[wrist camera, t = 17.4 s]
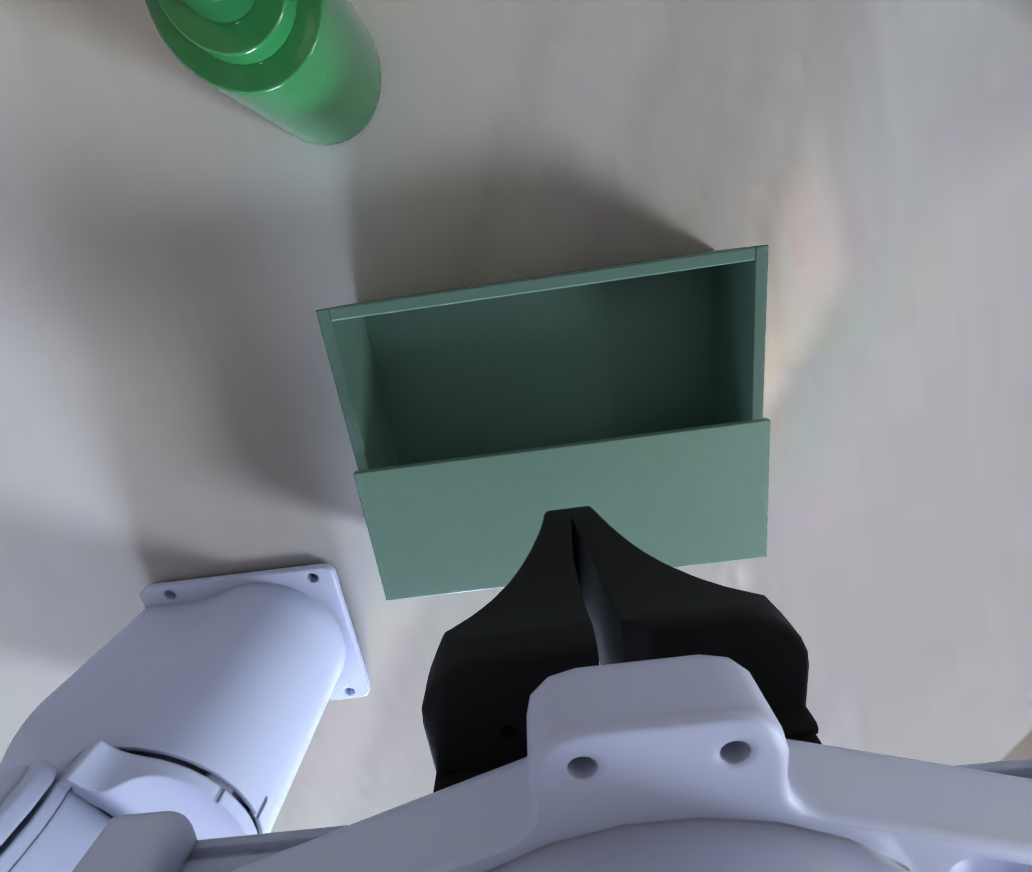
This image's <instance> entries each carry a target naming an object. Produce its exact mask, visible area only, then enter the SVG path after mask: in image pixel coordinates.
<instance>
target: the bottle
mask: <svg viewBox="0 0 1032 872" xmlns="http://www.w3.org/2000/svg"><path fill="white" fill-rule="evenodd" d="M145 1H146V4H147V7H148V9H149V12H150V15H151V17H152V19H153V21H154V23H155V26H156V28H157V30H158V31H159V33H160V35H161V36H162V38H163V40H164V41H165V43H166V44H167V46H168V47H169V48H170V50H171V51H172V52H173V54H174V55H175V56H176V57H177V58H178V59H179V60H180V61H181V62H182V64H183V65H184V66H186V67H187V68H188V69H189V70H190V71H191V72H192V73H194V74H195V75H196V76H198V77H199V78H201V79H202V80H204V81H205V82H207V83H208V84H210V85H212V86H213V87H215V88H216V89H218V90H220V91H221V92H223V93H225V94H226V95H228V96H229V97H231V98H233V99H234V100H236V101H238V102H239V103H241V104H242V105H244V106H246V107H247V108H249V109H250V110H252V111H254V112H255V113H257V114H259V115H260V116H262V117H263V118H265V119H267V120H268V121H270V122H272V123H273V124H275V125H276V126H278V127H280V128H281V129H283V130H285V131H286V132H288V133H289V134H291V135H293V136H294V137H296V138H298V139H300V140H303V141H305V142H308V143H312V144H317V145H333V144H338V143H341V142H344V141H346V140H348V139H350V138H352V137H353V136H355V135H356V134H357V133H359V132H360V131H361V130H362V129H363V128H364V127H365V125H366V124H367V123H368V121H369V120H370V118H371V117H372V115H373V113H374V111H375V108H376V105H377V102H378V98H379V94H380V85H381V71H380V64H379V59H378V55H377V51H376V48H375V45H374V43H373V40H372V38H371V36H370V34H369V32H368V31H367V29H366V27H365V26H364V24H363V22H362V21H361V19H360V18H359V16H358V14H357V13H356V11H355V9H354V8H353V6H352V5H351V3H350V1H349V0H145Z"/></svg>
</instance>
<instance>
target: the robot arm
mask: <svg viewBox="0 0 1032 872" xmlns="http://www.w3.org/2000/svg"><path fill="white" fill-rule="evenodd" d="M310 573H314V574H316V575H317V577H318V578H316V577H313V576H312V575H311V574H310ZM172 591H173V592H174V593H175V594H174V593H172ZM140 595H141V599H142V601H143V603H144V605H145V607H146V609H145V610H144V611H142V612H141V613H140V614H139V615H138V616H137V617H136V618H135V619H134V620H132V621H131V622H130V623H129V624H128V625H127V626H126V627H125V628H124V629H123V630H121V631H120V632H119V633H118V634H117V635H116V636H115V637H114V638H113V639H111V640H110V641H109V642H108V643H107V644H106V645H105V646H104V647H103V648H101V649H100V650H99V651H98V652H97V653H96V654H95V655H94V656H93V657H92V658H90V659H89V660H88V661H87V662H86V663H85V664H84V665H83V666H82V667H80V668H79V669H78V670H77V671H76V672H75V673H74V674H73V675H72V676H71V677H69V678H68V679H67V680H66V681H65V682H64V683H63V684H62V685H61V686H59V687H58V688H57V689H56V690H55V691H54V692H53V693H52V694H51V695H50V696H48V697H47V698H46V699H45V700H44V701H43V702H42V703H41V704H40V705H39V706H38V707H37V708H36V709H35V710H34V711H33V712H32V713H31V714H30V716H29V717H28V718H27V719H26V721H25V722H24V723H23V725H22V726H21V727H20V729H19V730H18V732H17V734H16V735H15V737H14V738H13V740H12V742H11V744H10V745H9V747H8V749H7V751H6V753H5V755H4V757H3V760H2V762H1V764H0V872H1032V758H1030V759H1020V760H1009V761H999V762H989V763H979V764H969V765H958V766H950V765H944V764H938V763H932V762H926V761H920V760H914V759H907V758H901V757H895V756H889V755H883V754H877V753H871V752H865V751H859V750H852V749H846V748H840V747H834V746H828V745H822V743H821V742H820V740H819V739H818V737H817V736H816V734H818V726H817V723H816V721H815V719H814V718H813V716H812V715H811V713H810V712H809V710H808V709H807V707H806V696H807V683H808V670H809V662H808V651H807V649H806V647H805V645H804V643H803V641H802V638H801V637H800V635H799V634H798V633H797V632H796V630H795V629H794V628H793V627H792V625H791V624H790V623H789V621H788V620H787V619H786V618H785V617H784V616H783V614H782V613H781V612H780V611H779V610H778V609H777V608H776V607H775V606H774V605H773V604H772V603H771V602H770V601H769V600H768V599H767V598H766V597H765V596H764V595H760V594H755V593H751V592H746V591H742V590H737V589H733V588H729V587H725V586H722V585H718V584H715V583H712V582H709V581H705V580H703V579H700V578H697V577H694V576H692V575H689V574H687V573H685V572H682V571H680V570H678V569H675V568H673V567H671V566H669V565H667V564H665V563H663V562H661V561H659V560H658V559H656V558H654V557H652V556H650V555H649V554H647V553H645V552H644V551H642V550H641V549H639V548H638V547H636V546H635V545H633V544H632V543H631V542H629V541H628V540H627V539H625V538H624V537H623V536H622V535H621V534H619V533H618V532H617V531H616V530H615V529H614V528H612V527H611V526H610V525H609V524H608V523H607V522H606V521H605V520H604V519H603V518H602V517H601V516H600V515H599V514H598V513H597V512H596V511H595V510H594V509H593V508H592V507H590V506H583V507H575V508H567V509H558V510H550V511H547V512H546V513H545V514H544V518H543V522H542V525H541V528H540V531H539V534H538V536H537V538H536V540H535V542H534V545H533V547H532V549H531V550H530V552H529V554H528V556H527V557H526V559H525V561H524V563H523V564H522V566H521V567H520V569H519V570H518V572H517V573H516V574H515V576H514V577H513V578H512V580H511V581H510V582H509V583H508V584H507V586H506V587H505V588H504V589H503V590H502V591H501V592H500V593H499V594H498V595H497V596H496V597H495V598H494V599H493V600H492V601H491V602H489V603H488V604H487V605H486V606H485V607H483V608H482V609H481V610H479V611H478V612H477V613H476V614H474V615H473V616H471V617H470V618H468V619H467V620H465V621H463V622H462V623H460V624H459V625H457V626H455V627H454V628H452V629H451V630H449V631H447V632H445V634H444V635H443V638H442V640H441V642H440V645H439V647H438V650H437V652H436V655H435V658H434V660H433V663H432V666H431V669H430V672H429V676H428V680H427V685H426V690H425V695H424V700H423V705H422V715H423V724H424V728H425V731H426V735H427V739H428V742H429V746H430V750H431V754H432V757H433V761H434V765H435V769H436V772H437V773H436V779H435V785H434V792H433V793H432V794H429V795H426V796H424V797H421V798H419V799H416V800H413V801H411V802H408V803H406V804H403V805H400V806H398V807H395V808H393V809H390V810H388V811H385V812H382V813H380V814H377V815H375V816H372V817H369V818H367V819H364V820H362V821H359V822H356V823H354V824H351V825H346V826H336V827H326V828H315V829H305V830H295V831H285V832H275V833H270V831H271V829H272V827H273V825H274V822H275V820H276V818H277V815H278V813H279V811H280V809H281V806H282V804H283V802H284V800H285V797H286V795H287V793H288V790H289V788H290V786H291V784H292V781H293V779H294V777H295V775H296V772H297V770H298V768H299V766H300V763H301V761H302V759H303V756H304V754H305V752H306V750H307V747H308V745H309V743H310V741H311V738H312V736H313V734H314V731H315V729H316V727H317V725H318V722H319V720H320V718H321V716H322V713H323V711H324V709H325V707H326V704H327V702H328V700H337V699H346V698H355V697H363V696H366V695H367V694H368V692H369V690H370V687H371V686H370V681H369V678H368V674H367V671H366V668H365V665H364V661H363V658H362V655H361V652H360V648H359V645H358V642H357V638H356V635H355V632H354V629H353V625H352V622H351V619H350V616H349V612H348V609H347V606H346V603H345V599H344V596H343V593H342V590H341V586H340V583H339V580H338V577H337V573H336V571H335V569H334V567H332V566H331V565H329V564H325V563H322V564H314V565H305V566H297V567H289V568H280V569H272V570H264V571H256V572H247V573H239V574H231V575H222V576H214V577H206V578H197V579H189V580H181V581H173V582H164V583H156V584H150V585H148V586H146V587H145V588H144V589H143V590H142V591H141V593H140ZM599 661H600V665H599ZM349 687H350V688H349ZM351 688H353V689H351Z"/></svg>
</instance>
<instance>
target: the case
mask: <svg viewBox="0 0 1032 872" xmlns="http://www.w3.org/2000/svg"><path fill="white" fill-rule="evenodd" d="M767 271H768V245H761V246H752V247H743V248H734V249H726V250H717V251H710V252H703V253H696V254H689V255H683V256H676V257H669V258H662V259H655V260H648V261H641V262H635V263H628V264H621V265H614V266H607V267H600V268H593V269H586V270H580V271H573V272H566V273H559V274H552V275H545V276H538V277H531V278H525V279H518V280H511V281H504V282H497V283H490V284H483V285H477V286H470V287H463V288H456V289H449V290H442V291H435V292H428V293H422V294H415V295H408V296H401V297H394V298H387V299H380V300H374V301H367V302H360V303H353V304H348V305H343V306H337V307H332V308H326V309H321V310H317V311H316V313H317V317H318V321H319V324H320V328H321V332H322V336H323V339H324V343H325V347H326V350H327V354H328V358H329V362H330V365H331V369H332V373H333V377H334V380H335V384H336V388H337V392H338V395H339V399H340V403H341V407H342V410H343V414H344V418H345V422H346V425H347V429H348V433H349V437H350V440H351V444H352V448H353V452H354V455H355V459H356V463H357V466H358V470H367V469H375V468H382V467H390V466H398V465H406V464H413V463H421V462H429V461H437V460H444V459H452V458H460V457H468V456H475V455H483V454H491V453H498V452H506V451H514V450H522V449H529V448H537V447H545V446H553V445H560V444H568V443H576V442H584V441H591V440H599V439H607V438H615V437H622V436H630V435H638V434H646V433H653V432H661V431H669V430H677V429H684V428H692V427H700V426H708V425H715V424H723V423H731V422H739V421H746V420H754V419H762V418H763V393H764V363H765V332H766V301H767Z"/></svg>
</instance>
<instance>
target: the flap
mask: <svg viewBox="0 0 1032 872" xmlns="http://www.w3.org/2000/svg"><path fill="white" fill-rule="evenodd" d="M769 452H770V420H769V419H767V418H762V419H754V420H746V421H739V422H731V423H723V424H715V425H708V426H700V427H692V428H684V429H677V430H669V431H661V432H653V433H646V434H638V435H630V436H622V437H615V438H607V439H599V440H591V441H584V442H576V443H568V444H560V445H553V446H545V447H537V448H529V449H522V450H514V451H506V452H498V453H491V454H483V455H475V456H468V457H460V458H452V459H444V460H437V461H429V462H421V463H413V464H406V465H398V466H390V467H382V468H375V469H367V470H359V471H356V472H355V473H354V478H355V482H356V486H357V489H358V493H359V497H360V501H361V505H362V508H363V512H364V516H365V520H366V524H367V527H368V531H369V535H370V539H371V543H372V546H373V550H374V554H375V558H376V562H377V565H378V569H379V573H380V577H381V581H382V584H383V588H384V592H385V596H386V600H387V601H389V600H397V599H406V598H414V597H423V596H432V595H440V594H449V593H457V592H466V591H475V590H483V589H492V588H501V587H506V586H507V584H508V583H509V582H510V581H511V580H512V578H513V577H514V576H515V574H516V573H517V572H518V570H519V569H520V567H521V566H522V564H523V563H524V561H525V559H526V557H527V556H528V554H529V552H530V550H531V549H532V547H533V545H534V542H535V540H536V538H537V536H538V534H539V531H540V528H541V525H542V522H543V518H544V514H545V513H546V512H547V511H550V510H558V509H567V508H575V507H583V506H590V507H592V508H593V509H594V510H595V511H596V512H597V513H598V514H599V515H600V516H601V517H602V518H603V519H604V520H605V521H606V522H607V523H608V524H609V525H610V526H611V527H612V528H614V529H615V530H616V531H617V532H618V533H619V534H621V535H622V536H623V537H624V538H625V539H627V540H628V541H629V542H631V543H632V544H633V545H635V546H636V547H638V548H639V549H641V550H642V551H644V552H645V553H647V554H649V555H650V556H652V557H654V558H656V559H658V560H659V561H661V562H663V563H665V564H667V565H669V566H671V567H682V566H690V565H699V564H707V563H716V562H725V561H733V560H742V559H750V558H759V557H766V556H767V523H768V488H769Z"/></svg>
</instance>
